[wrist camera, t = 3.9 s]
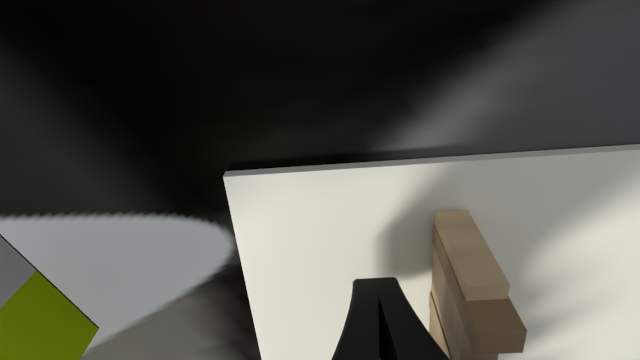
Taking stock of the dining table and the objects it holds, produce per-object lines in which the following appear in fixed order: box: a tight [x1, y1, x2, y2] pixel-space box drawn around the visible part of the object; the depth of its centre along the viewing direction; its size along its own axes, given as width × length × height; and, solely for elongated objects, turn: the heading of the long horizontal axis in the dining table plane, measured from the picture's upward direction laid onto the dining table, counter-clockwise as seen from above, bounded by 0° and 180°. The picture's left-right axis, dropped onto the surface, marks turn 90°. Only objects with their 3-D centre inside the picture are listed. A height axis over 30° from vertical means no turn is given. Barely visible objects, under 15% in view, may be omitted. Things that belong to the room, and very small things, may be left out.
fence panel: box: [429, 210, 527, 360], centre depth 13 cm, size 7×1×4 cm, turn 5°
